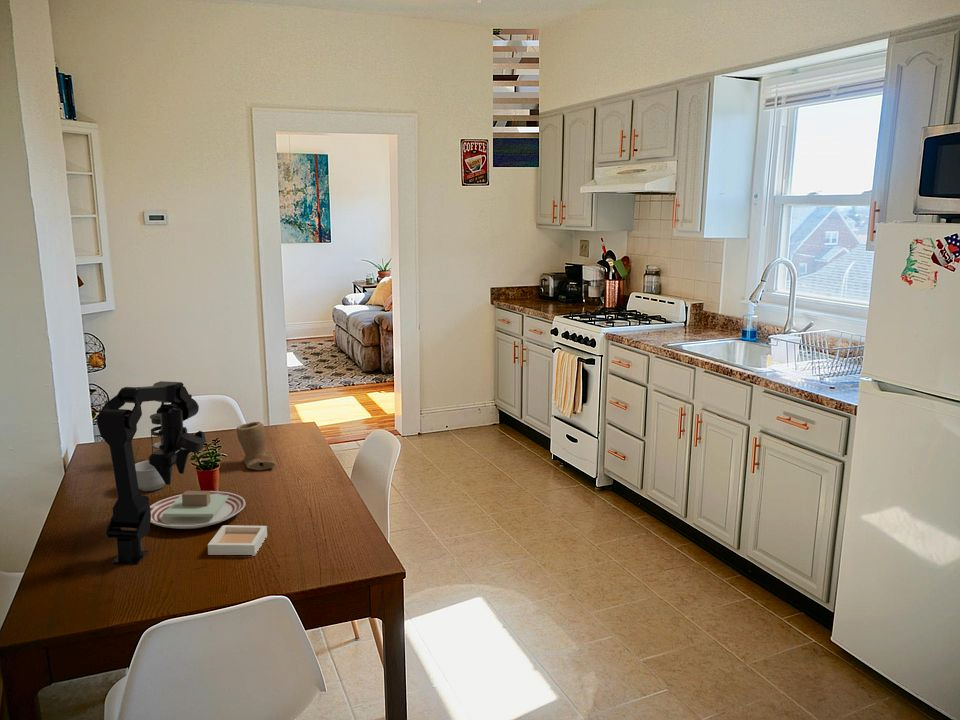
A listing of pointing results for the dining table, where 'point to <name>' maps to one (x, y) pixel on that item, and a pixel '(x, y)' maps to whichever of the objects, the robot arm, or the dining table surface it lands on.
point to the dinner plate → (191, 522)
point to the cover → (196, 504)
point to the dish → (237, 540)
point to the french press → (156, 420)
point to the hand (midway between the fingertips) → (175, 478)
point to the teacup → (148, 477)
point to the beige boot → (255, 446)
